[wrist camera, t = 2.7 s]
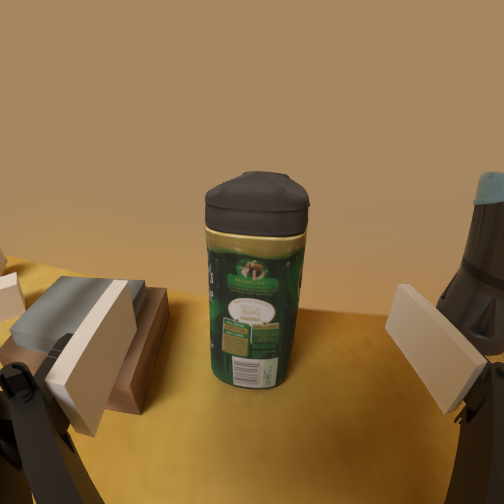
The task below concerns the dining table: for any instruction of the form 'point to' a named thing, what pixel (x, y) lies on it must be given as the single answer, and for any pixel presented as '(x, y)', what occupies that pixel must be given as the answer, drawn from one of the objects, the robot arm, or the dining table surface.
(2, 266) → the die
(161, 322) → the tower stand
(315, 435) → the dining table surface
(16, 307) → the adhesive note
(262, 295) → the coffee jar
